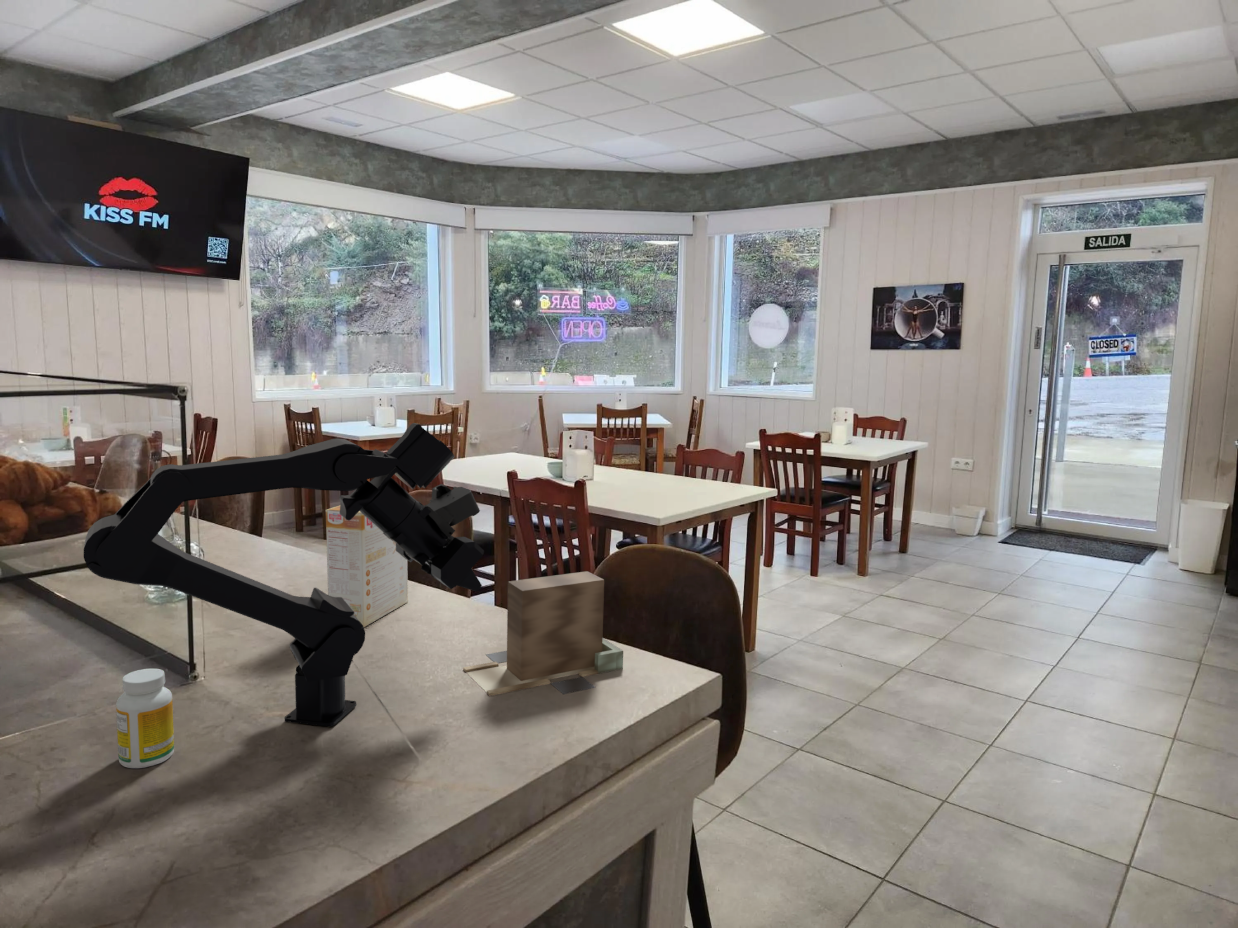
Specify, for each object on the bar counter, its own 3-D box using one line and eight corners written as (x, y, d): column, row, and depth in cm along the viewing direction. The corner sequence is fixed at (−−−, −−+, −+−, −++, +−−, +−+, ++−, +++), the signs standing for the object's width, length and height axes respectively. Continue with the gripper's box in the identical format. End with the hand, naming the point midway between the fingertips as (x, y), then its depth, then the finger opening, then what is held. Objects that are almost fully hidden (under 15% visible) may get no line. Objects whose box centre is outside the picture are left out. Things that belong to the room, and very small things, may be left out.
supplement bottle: (109, 770, 87) (104, 685, 86) (133, 746, 92) (129, 665, 91) (161, 769, 88) (157, 684, 86) (183, 745, 93) (179, 665, 92)
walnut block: (520, 680, 113) (522, 590, 111) (506, 668, 117) (507, 581, 116) (601, 664, 120) (604, 579, 118) (585, 653, 124) (587, 571, 122)
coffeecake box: (374, 598, 149) (373, 493, 146) (409, 602, 147) (409, 496, 144) (325, 623, 134) (323, 508, 132) (363, 628, 133) (362, 511, 130)
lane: (501, 709, 105) (501, 687, 104) (453, 661, 120) (453, 642, 120) (637, 680, 115) (638, 659, 115) (577, 639, 131) (578, 621, 130)
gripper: (468, 478, 98) (548, 557, 105) (417, 460, 114) (489, 531, 121) (405, 548, 95) (491, 625, 102) (361, 520, 110) (439, 589, 118)
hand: (478, 588), depth 111 cm, fingers closed
